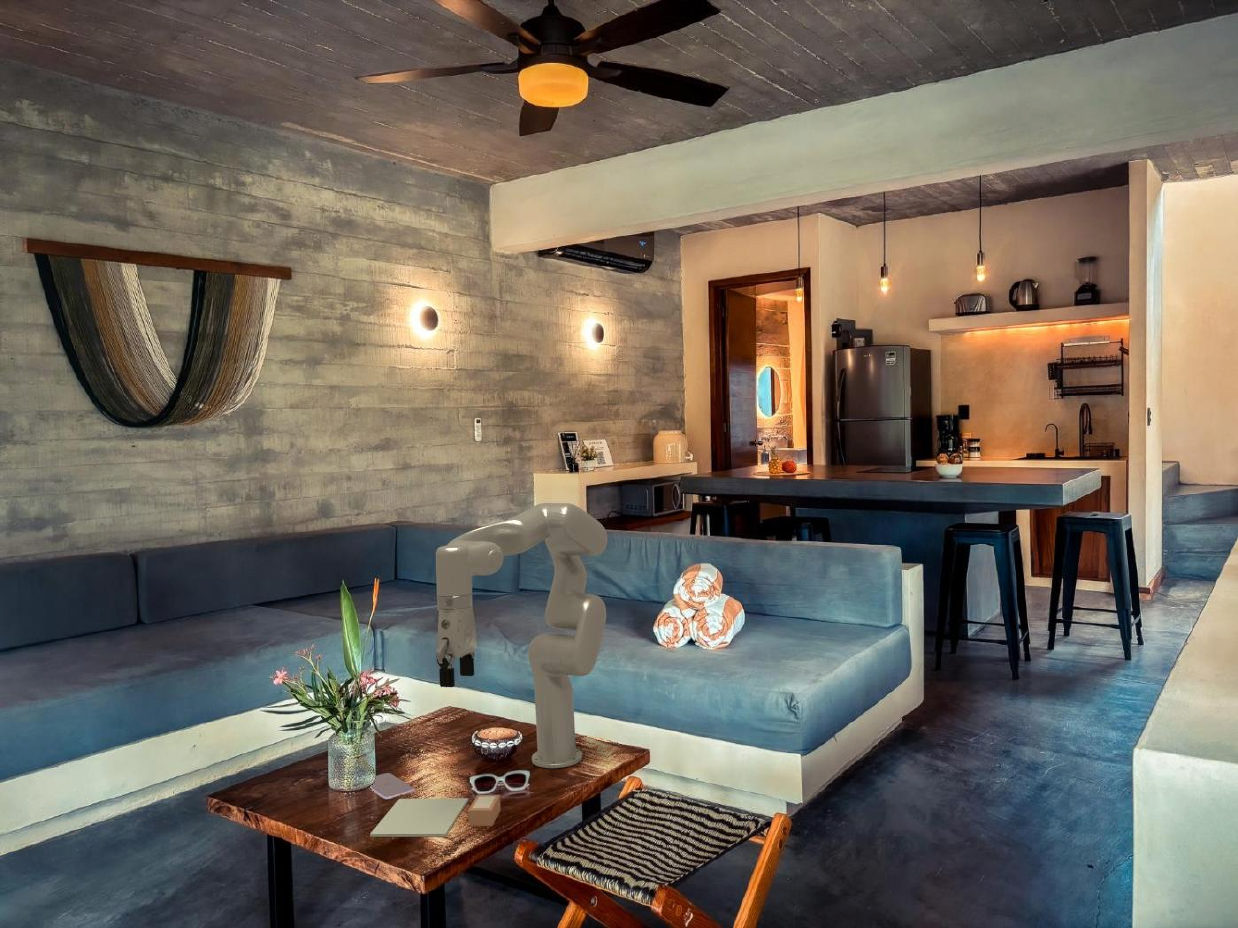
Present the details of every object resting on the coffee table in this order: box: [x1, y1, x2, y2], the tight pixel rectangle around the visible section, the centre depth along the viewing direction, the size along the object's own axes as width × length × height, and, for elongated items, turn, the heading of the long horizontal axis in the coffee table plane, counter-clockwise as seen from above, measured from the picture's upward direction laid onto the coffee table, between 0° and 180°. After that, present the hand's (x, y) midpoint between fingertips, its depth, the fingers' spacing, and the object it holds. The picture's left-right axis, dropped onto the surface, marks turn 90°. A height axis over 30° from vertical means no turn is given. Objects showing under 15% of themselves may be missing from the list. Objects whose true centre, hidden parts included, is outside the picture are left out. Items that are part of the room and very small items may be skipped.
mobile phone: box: [370, 772, 415, 800], centre depth 218 cm, size 8×1×15 cm
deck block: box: [467, 794, 501, 827], centre depth 198 cm, size 8×5×4 cm, turn 175°
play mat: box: [369, 797, 469, 838], centre depth 199 cm, size 18×16×1 cm
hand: (457, 681), depth 201 cm, fingers open, 9 cm apart
